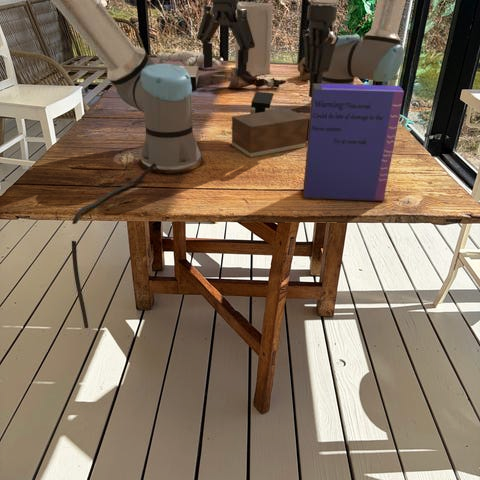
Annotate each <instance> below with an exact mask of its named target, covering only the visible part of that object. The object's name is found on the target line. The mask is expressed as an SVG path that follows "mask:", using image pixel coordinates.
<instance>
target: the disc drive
mask: <svg viewBox="0 0 480 480" xmlns="http://www.w3.org/2000/svg"><path fill="white" fill-rule="evenodd" d="M179 66H180V67H182V68H184V69H185V70H186V71H187V72H188V73H189V75H190V79H191V85H192V91H197V85H198V82H199V76H200V75H199V67H198V66H197V65H189V66H184V65H179Z"/></svg>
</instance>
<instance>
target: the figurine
mask: <svg viewBox="0 0 480 480" xmlns="http://www.w3.org/2000/svg"><path fill="white" fill-rule="evenodd" d="M230 69H231V72H230V73H231V74H230V76H229V75H225V74H213V73H211V74H210V78H209V85H212V84H213V83H214V79H215V78H216V79H223V80H227V81H229V84H228V88H229V89H241V88H247V87H249V86H255V87H256V88H262V87H268V88H271V89H273V88H280V86H281V85H284V84H286V83H287V80H285V79H275V78H274V77H272V78H265V77H262V78H261V77H257V76H252V75H251V73H250V72H249V71H246V75H241V76H238V69H237V68H235V67H232V66H231V67H230Z"/></svg>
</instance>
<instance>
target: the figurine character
mask: <svg viewBox="0 0 480 480" xmlns="http://www.w3.org/2000/svg"><path fill="white" fill-rule="evenodd" d="M273 98H274V92H267V91H266V92H264V91H255V92H254V95H253V97H252V99H251V103H250V111H249V114H252V113H259V112H266V111H272V109H271V104H272V101H273Z"/></svg>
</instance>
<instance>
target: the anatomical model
mask: <svg viewBox="0 0 480 480" xmlns="http://www.w3.org/2000/svg"><path fill="white" fill-rule="evenodd" d="M309 64H310V63H309ZM297 71H298V72H299V76H300V77H301V79H302V81H306V82H308V80H310V71H309V69H308V68H306V67H305V56H304V57H303V58H301V60H300V61H299V62H298V64H297Z"/></svg>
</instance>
